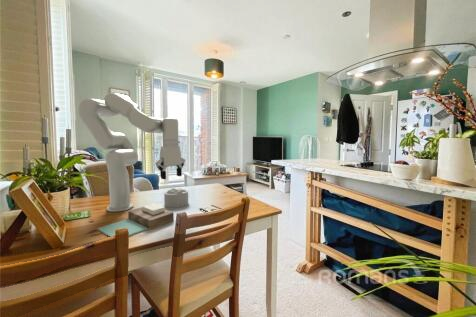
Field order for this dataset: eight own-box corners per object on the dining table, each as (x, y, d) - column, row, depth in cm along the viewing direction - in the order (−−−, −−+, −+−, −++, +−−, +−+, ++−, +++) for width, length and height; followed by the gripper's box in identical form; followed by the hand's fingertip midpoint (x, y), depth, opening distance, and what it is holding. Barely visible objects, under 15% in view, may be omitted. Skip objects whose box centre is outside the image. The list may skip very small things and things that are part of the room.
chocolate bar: (221, 218, 104) (199, 208, 117) (221, 220, 104) (199, 210, 117) (234, 213, 111) (212, 205, 123) (234, 215, 111) (212, 206, 123)
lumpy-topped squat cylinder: (190, 203, 126) (190, 189, 125) (169, 208, 117) (169, 193, 116) (181, 199, 133) (181, 186, 132) (161, 204, 124) (160, 189, 123)
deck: (128, 219, 102) (128, 210, 102) (151, 211, 112) (151, 204, 111) (150, 229, 92) (150, 220, 91) (173, 220, 101) (173, 212, 101)
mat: (97, 229, 91) (97, 228, 91) (128, 219, 101) (128, 218, 101) (116, 241, 81) (115, 239, 81) (147, 229, 92) (147, 227, 92)
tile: (142, 210, 103) (142, 206, 102) (153, 207, 108) (153, 203, 107) (153, 214, 97) (153, 210, 97) (164, 211, 102) (164, 207, 102)
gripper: (179, 142, 116) (180, 174, 118) (150, 143, 102) (151, 179, 104) (189, 143, 112) (189, 175, 114) (159, 144, 98) (160, 181, 100)
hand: (171, 177), depth 109 cm, fingers open, 9 cm apart
